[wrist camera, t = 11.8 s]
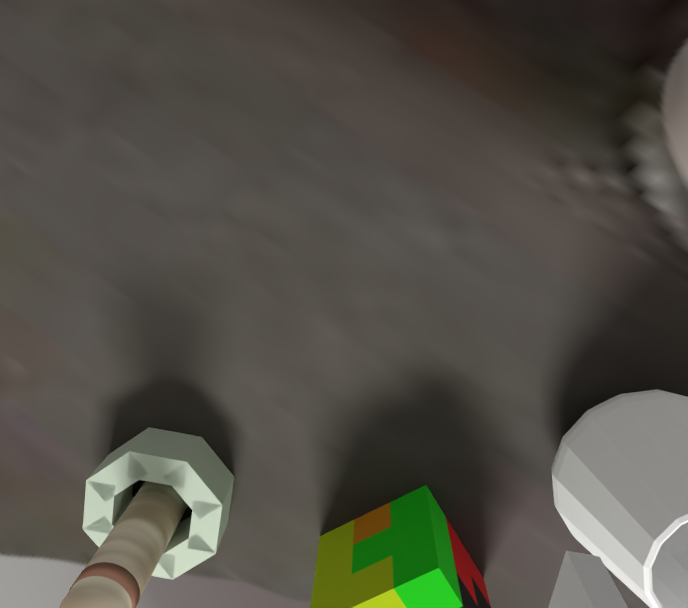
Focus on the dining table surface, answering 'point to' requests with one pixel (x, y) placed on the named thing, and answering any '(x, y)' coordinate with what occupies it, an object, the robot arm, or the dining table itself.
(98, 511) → the bead
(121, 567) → the striped rounded cylinder
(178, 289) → the dining table surface
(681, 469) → the cup
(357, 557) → the puzzle toy
